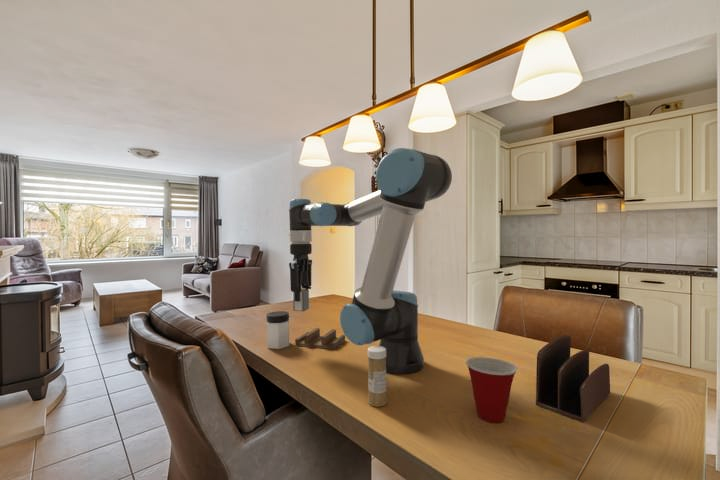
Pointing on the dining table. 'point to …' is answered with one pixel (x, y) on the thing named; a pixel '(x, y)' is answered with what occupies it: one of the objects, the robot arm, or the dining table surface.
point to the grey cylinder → (305, 299)
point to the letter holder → (569, 381)
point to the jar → (277, 330)
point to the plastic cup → (491, 386)
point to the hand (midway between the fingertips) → (301, 308)
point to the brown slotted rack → (320, 339)
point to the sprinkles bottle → (377, 375)
